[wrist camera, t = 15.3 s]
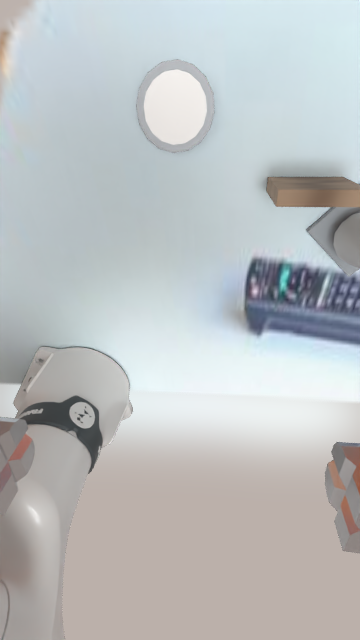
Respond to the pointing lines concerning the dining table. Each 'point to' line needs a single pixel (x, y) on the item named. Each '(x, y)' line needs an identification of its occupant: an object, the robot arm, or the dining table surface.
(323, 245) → the slate mat
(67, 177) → the dining table surface
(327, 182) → the walnut box
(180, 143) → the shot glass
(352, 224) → the salt shaker
